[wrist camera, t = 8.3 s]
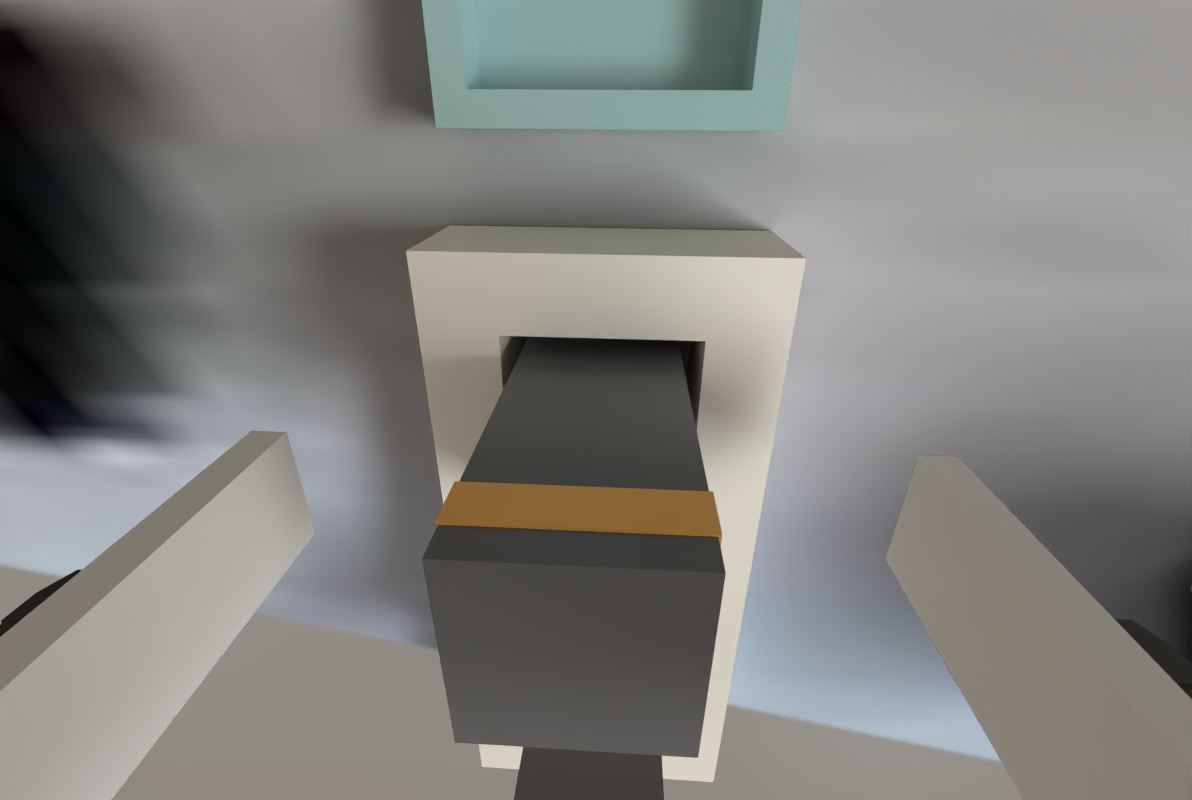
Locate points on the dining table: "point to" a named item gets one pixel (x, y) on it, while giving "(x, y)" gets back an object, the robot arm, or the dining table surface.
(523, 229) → the battery charger
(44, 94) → the dining table surface
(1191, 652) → the camera
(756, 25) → the tray
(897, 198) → the dining table surface
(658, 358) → the plug
